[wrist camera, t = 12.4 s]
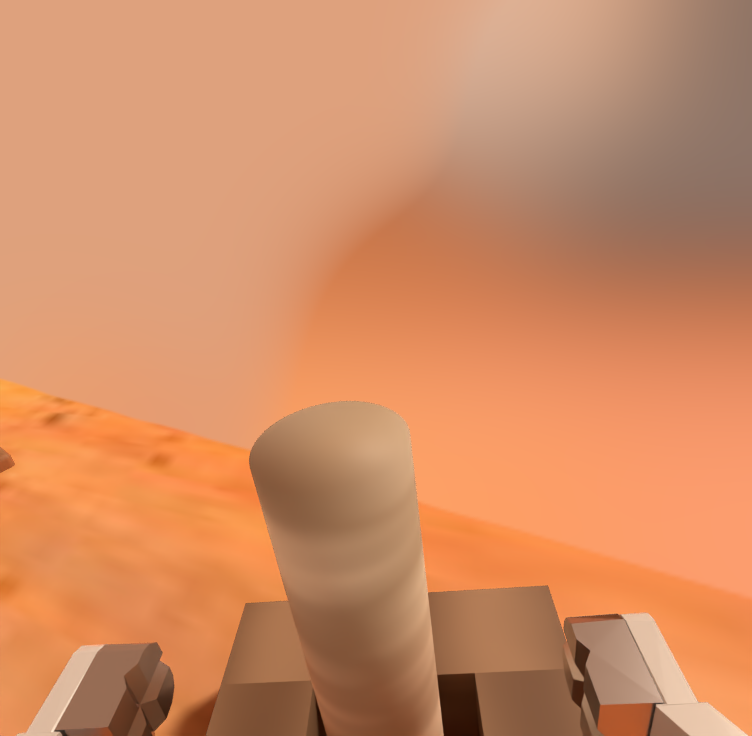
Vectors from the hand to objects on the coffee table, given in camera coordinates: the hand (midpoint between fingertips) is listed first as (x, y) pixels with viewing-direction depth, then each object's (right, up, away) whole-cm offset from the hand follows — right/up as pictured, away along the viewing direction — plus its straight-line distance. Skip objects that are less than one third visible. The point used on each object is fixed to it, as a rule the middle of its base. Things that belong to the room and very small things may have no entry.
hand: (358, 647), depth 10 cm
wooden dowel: (+1, -8, +5) cm, 10 cm away
